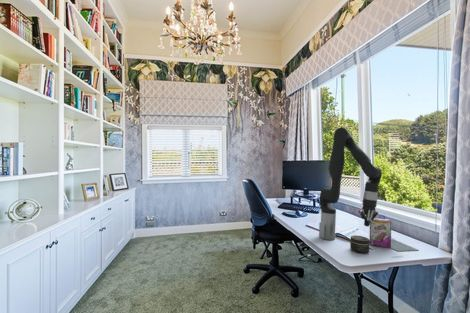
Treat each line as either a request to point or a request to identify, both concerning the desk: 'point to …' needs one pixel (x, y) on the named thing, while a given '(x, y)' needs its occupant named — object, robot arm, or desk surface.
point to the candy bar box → (380, 232)
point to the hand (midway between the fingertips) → (366, 226)
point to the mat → (401, 246)
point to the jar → (359, 244)
